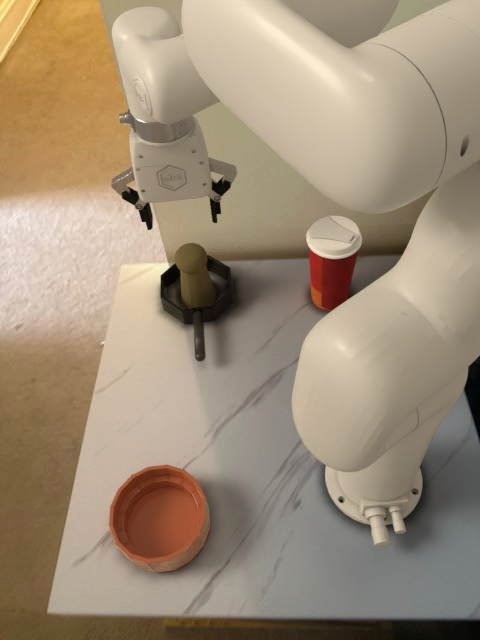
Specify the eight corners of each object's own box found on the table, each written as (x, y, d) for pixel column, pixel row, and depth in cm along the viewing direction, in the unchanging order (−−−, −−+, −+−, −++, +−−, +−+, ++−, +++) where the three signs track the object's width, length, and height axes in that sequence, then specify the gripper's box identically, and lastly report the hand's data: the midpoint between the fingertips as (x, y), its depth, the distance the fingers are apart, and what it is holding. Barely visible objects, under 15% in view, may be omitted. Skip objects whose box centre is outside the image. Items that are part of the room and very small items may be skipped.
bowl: (212, 567, 70) (208, 556, 66) (116, 578, 70) (106, 567, 66) (207, 475, 77) (203, 460, 73) (121, 484, 77) (112, 470, 73)
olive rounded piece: (197, 277, 100) (188, 231, 91) (223, 292, 97) (216, 247, 88) (174, 298, 97) (162, 253, 88) (199, 314, 94) (190, 270, 86)
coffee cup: (362, 289, 95) (372, 223, 83) (340, 323, 91) (348, 259, 79) (317, 272, 98) (321, 206, 87) (295, 304, 94) (295, 239, 83)
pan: (240, 365, 88) (239, 353, 85) (164, 374, 88) (160, 362, 85) (230, 266, 101) (228, 252, 98) (164, 273, 101) (160, 260, 98)
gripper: (91, 144, 68) (123, 244, 81) (234, 128, 68) (242, 231, 81) (95, 108, 72) (125, 209, 86) (229, 94, 72) (238, 197, 86)
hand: (182, 220), depth 84 cm, fingers open, 9 cm apart
